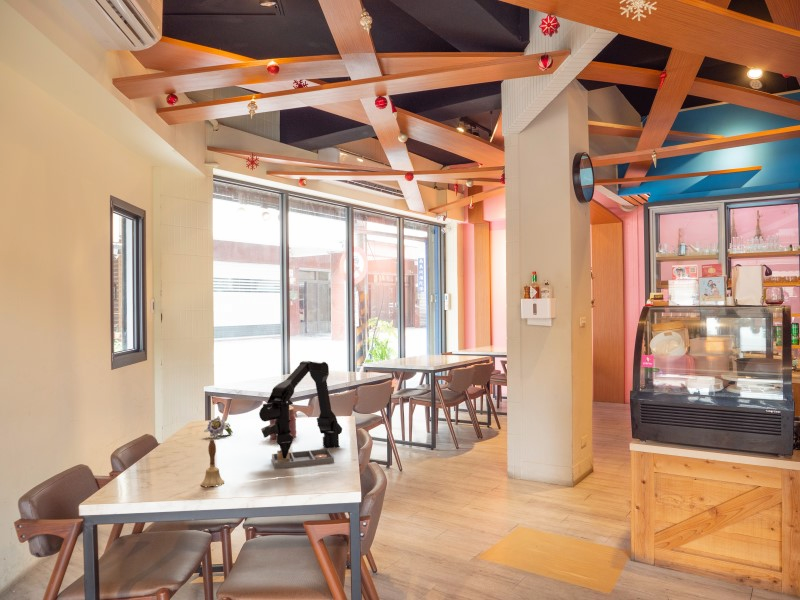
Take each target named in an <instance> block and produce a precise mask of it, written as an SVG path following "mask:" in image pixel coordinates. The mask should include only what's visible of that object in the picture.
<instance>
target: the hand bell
mask: <svg viewBox="0 0 800 600" xmlns="http://www.w3.org/2000/svg"><path fill="white" fill-rule="evenodd" d="M207 448H208V449H207V450H208V455H209V467H208V468H207V469H205V476H204V479H203V480H202V481H201V483H200V486H201V485H202V486H216V485H220V484H223V483H224V482H225V480H224V479H222V477H221V473H220V468H218V467H216V462H215V461H216V460H215V456H216V452H217V446H216V443H215V439H210V441H209V444H208V447H207ZM224 484H225V483H224ZM224 484H223V485H224ZM202 486H201V487H202ZM220 486H221V485H220ZM216 487H217V486H216Z"/></svg>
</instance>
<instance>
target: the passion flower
mask: <svg viewBox="0 0 800 600" xmlns="http://www.w3.org/2000/svg"><path fill="white" fill-rule="evenodd" d="M227 420H228V419H227V418H224V419H221V417H220V416H219V415H218V416H217V417H215V418H213V419H211V420H210V421H208V424H207V428H206V429H205V430H204V433H208V432H209V433H210V435H209V436H210V437H213V438H214V439H216V438H217V437H218V434H219V435H220V436H223V434H224V430H225V431H226V432H227V434H228V435H229V436H230V435H231V436H232V434H233V430H232V428H230V427H231V424H230V423H229V422H227Z"/></svg>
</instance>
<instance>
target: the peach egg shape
mask: <svg viewBox="0 0 800 600" xmlns="http://www.w3.org/2000/svg"><path fill="white" fill-rule="evenodd" d="M321 458H327V455H324V454H321V455H316V456H315V459H321Z"/></svg>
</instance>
